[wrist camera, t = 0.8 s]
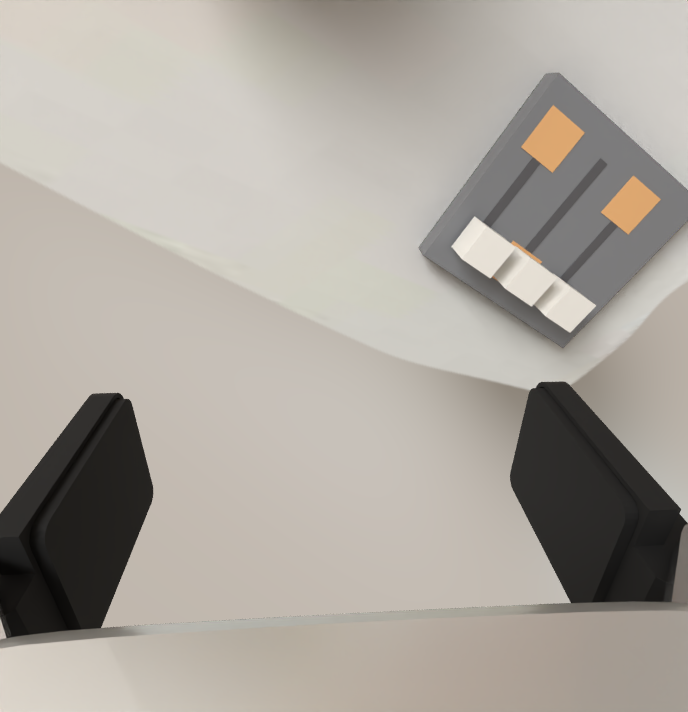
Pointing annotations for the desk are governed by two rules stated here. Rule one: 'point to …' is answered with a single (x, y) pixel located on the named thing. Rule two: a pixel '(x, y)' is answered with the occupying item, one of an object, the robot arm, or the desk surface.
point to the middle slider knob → (524, 277)
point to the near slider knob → (482, 247)
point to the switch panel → (564, 203)
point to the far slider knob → (564, 305)
